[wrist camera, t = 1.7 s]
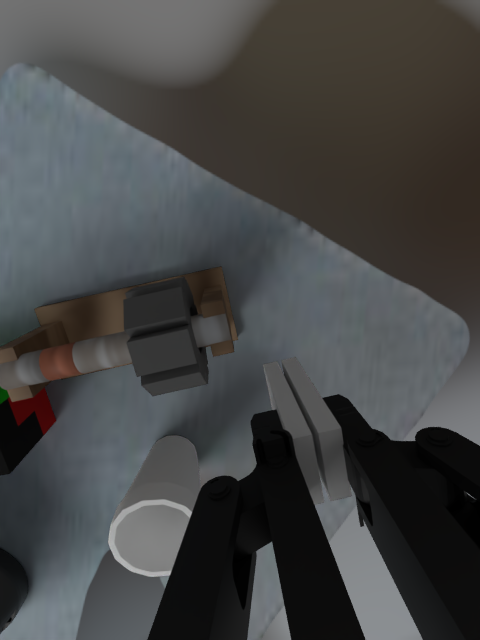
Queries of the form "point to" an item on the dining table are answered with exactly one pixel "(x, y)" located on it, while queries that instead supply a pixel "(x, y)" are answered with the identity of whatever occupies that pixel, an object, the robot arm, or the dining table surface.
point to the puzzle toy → (22, 427)
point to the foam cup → (157, 508)
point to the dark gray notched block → (164, 337)
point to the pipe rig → (104, 335)
